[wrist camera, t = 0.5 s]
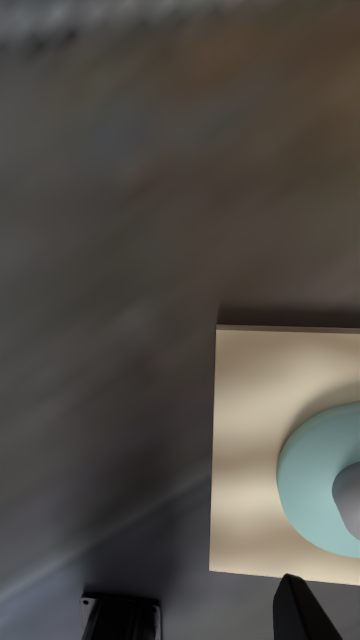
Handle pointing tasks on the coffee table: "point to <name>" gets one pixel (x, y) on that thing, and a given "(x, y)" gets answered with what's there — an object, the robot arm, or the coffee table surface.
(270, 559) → the post board
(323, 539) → the flange
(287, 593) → the robot arm
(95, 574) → the coffee table surface
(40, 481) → the coffee table surface
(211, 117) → the coffee table surface
